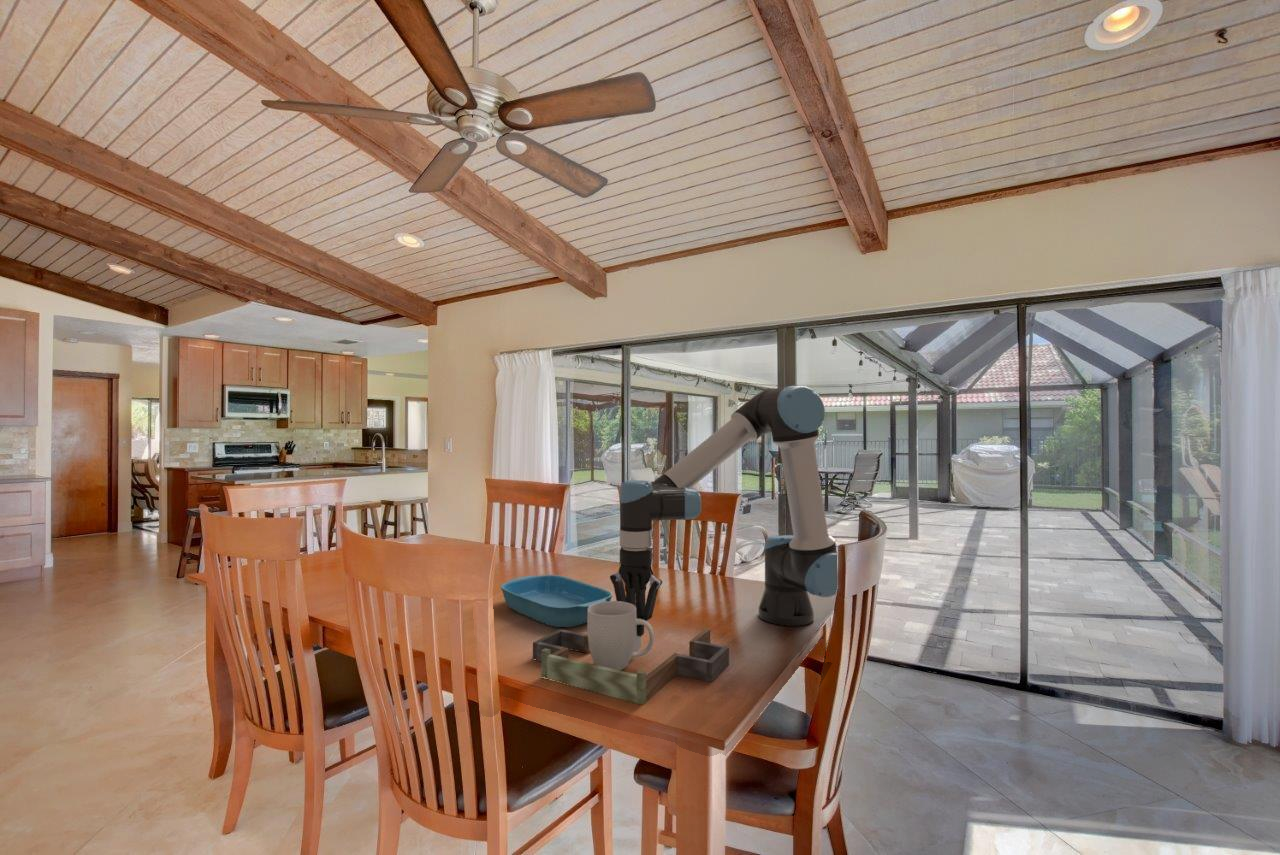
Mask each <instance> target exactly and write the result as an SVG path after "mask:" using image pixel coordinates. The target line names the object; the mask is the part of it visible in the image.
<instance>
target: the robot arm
mask: <svg viewBox="0 0 1280 855" xmlns="http://www.w3.org/2000/svg"><path fill="white" fill-rule="evenodd" d="M825 414H826V409H825V405H824V402H823V399H822V398H821V396H820V395H819V394H818V393H817V391H815V390H814V389H812V388H811V387H808V386H805V385H804V386H802V385H788V386H784V387H777V388H775V387H773V388H768V389H764V390H762V391H760V392H759V393H758V394H755V395H754V396H753V397H751V398H750V399H749V400H748V401H746V402H745V403H744V404H743V405H741V406H740V407H739V408H738V409H736V410H735V411H734V412H733V413H732V414H731V416H730V420H728V421H727V422H726V423H725V424H724V425H722V426H721V427H720V428H719V429H717V430H716V431H715V432H713V434H711V435H710V436H709V437H707V438H706V439H705V440H704V441H703V442H701V443H700V444H699V445H698V446H696V447H695V448H694V449H692V450H691V451H690V452H689V453H687V454H686V455H685V456H684V457H683V458H681V459H680V460H679V461H677V462H676V463H675V464H674V465H673V466H672V467H670V468H669V469H667V470H666V471H665V472H664V473H663V474H662V475H660V476H659V477H658V478H656V479H655V480H653V481H650V480H645V479H644V480H636V479H635V480H633V479H632V480H624V481H623V482H622V483H621V485H620V489H619V500H618V501H619V547H621V548H619V564H620V566H619V569H618V572H616V573H614V574H611V575H610V577H609V579H610V581H611V583H612V586H613V589H614V595H615V599H616V600H615V601H621V602H627V603H631V604H633V605H635V607H636V617H637V619H643V620H645V621H647V622H648V621H649V620H650V619H652V618H653V614H654V609H655V605H656V601H657V596H658V592H659V588H661V585H663V580H662V579H661V578H659V579H658V578H657V577H656V576H654V571H653V570H652V564H653V550H652V548H651V547H652V545H653V522H659V521H678V520H679V521H681V520H682V521H686V520H692V519H694V520H695V519H696V518H698V517H699V516H700V514H701V511H702V497H701V494H700V492H699V490H698V489H696V488H695V486H696V485H697V484H698V483H699V482H700V481H702V480H703V479H704V478H705V477H707V476H708V475H709V474H710V473H711V472H713V471H714V470H715V469H717V467H719V466H720V465H721V464H723V463H724V462H726V460H728V459H729V458H730V457H731V456H733V454H735V453H736V452H737V451H738V450H740V449H741V448H742V447H743V446H744V445H746V444H747V443H748V442H755V441H756V440H758V439H759V438H760V437H762V436H764V435H767V434H769V433H771V437H772V442H773V444H775V445H776V446H777V447H779V450H780V456H781V462H782V468H783V469H782V470H783V475H784V481H785V482H784V483H785V489H786V494H787V501H788V502H787V503H788V507H789V508H788V509H789V514H790V520H791V528H792V534H793V535H792V534H791V535H790V534H787V535H785V534H784V535H773V536H768V537H766V539H765V543H764V550H763V551H764V590H763V594H762V596H761V600H760V602H759V605H758V617H759V619H761V620H762V619H763V620H762V621H764V620H765V621H764V622H766V621H767V622H766V623H769V622H770V624H772V623H774V624H773V625H777V624H779V625H780V626H784V625H786V627H799V626H800V625H801V626H806V625H809V624H811V622H812V621H813V620H815V619H814V618H815V614H814V613H815V612H814V608H813V605H812V602H811V599H810V596H809V594H811V595H813V596H817V597H821V598H831V597H833V596H836V595H837V594H836V590H837V554H838V550H837V544H836V540H835V538H834V537H832V536H831V535H830V534H829V532H828V525H827V519H826V514H825V506H824V500H823V493H822V487H821V479H820V474H819V466H818V465H819V464H818V459H817V452H816V447H815V443H816V441H817V440H818V439H819V437H820V433H819V432H820V430H819V428H820V427H821V426H822V424H823V421H824V420H825V418H826V417H825ZM648 584H649V585H648ZM647 585H648V586H649V589H648V592H647V597H646V591H647ZM813 622H814V621H813ZM813 622H812V623H813ZM779 625H778V626H779ZM636 627H637V628H636V629H637V630H636V641H635V647H634V651H633V652H638V650H640V649H641V648H642V636H643V635H644V634H645V626H644V625H641V624H640V625H636Z"/></svg>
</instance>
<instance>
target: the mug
mask: <svg viewBox="0 0 1280 855" xmlns="http://www.w3.org/2000/svg"><path fill="white" fill-rule="evenodd" d="M640 624H641V625H644V627H646V629H647V631H648V634H649V640H648V641H649V642H648V645H647V646H646V647H645V648H644V649H643V650H641V651H634V647H635V641H636V630H637V629H636V628H637V627H636V625H640ZM586 625H587V626H586V627H587V628H586V629H587V630H586V631H587V634H588V642H589V648H590V652H591V653H590V655H591V658H592V659H593V662H594V665H599V666H603V667H607V668H611V669H616V670H620V671H623V670H625V669H626V668H627V667H628V665H629V663H630V661H631V659H635V658H639V657H642V656H645V655H647V654H648V653H649V651H651V649H652V648H653V645H654V639H655V638H654V631H653V630H654V629H653V628H652V626H651V624H650V623H649V622H648V620H647V621H645V620H643V619H637V617H636V607H635V605H633V604H631V603H627V602H621V601H617V600H610V601H604V602H598V603H594V604H592V605H590V606H589V607H588V618H587V623H586Z"/></svg>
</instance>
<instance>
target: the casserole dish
mask: <svg viewBox="0 0 1280 855" xmlns="http://www.w3.org/2000/svg"><path fill="white" fill-rule="evenodd" d="M500 589H501V591H502V594H503V598H504V601H505V603H506V605H507V606H508V607H509V608H510V609H512V610H514V611H515V612H517V613H519V614H520V615H523V614H524V615H523V616H525V615H526V616H525V617H527V618H530V617H531V619H532V618H533V620H534V619H535V620H534V621H537V620H538V621H537V622H539V621H540V623H542V624H544V623H545V625H547V624H548V625H547V626H549V625H551V626H550V627H552V626H554V627H553V628H556V627H570V628H572V627H571V626H574V627H577V626H576V625H578V626H581V625H584V624H587V623H586V622H587V618H588V607H589V606H590V605H592V604H594V603H598V602H604V601H612V597H613V593H612V592H611V591H609V590H607V589H604V588H601V587H598V586H596V585H592V584H590V583H586V582H583V581H580V580H577V579H573V578H570V577H566V576H562V575H556V574H541V575H526V576H520V577H516V578H513V579H511V580H509V581H507V582H506V581H505V582H504V583H502V584H501V585H500ZM583 623H584V624H583ZM580 624H581V625H580Z"/></svg>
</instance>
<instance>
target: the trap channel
mask: <svg viewBox="0 0 1280 855" xmlns="http://www.w3.org/2000/svg"><path fill="white" fill-rule="evenodd" d="M688 643H689V644H688V645H689V646H688V649H689V654H688V655H686V654H681V653H677V652H673V654H671V655H670V656H669V657H668V658H666V659H665V660H664V661H663V662H662V663H660V664H659V665H658V666H656V667H655V668H653V669H652V670H651V671H650V672H649V673H647V671H646V670H642V669H639V670H638V671H637V672H636V673H632V672H628V671H623V670H616V669H611V668H607V667H603V666H599V665H596V664H595V663H594V664H593V663H590V662H585V661H582V660H577V659H572V658H569V656H570V655H569V651H570V650H569V649H572V650H571V651H573V650H578V651H582V652H586V653H589V654H591V653H590V648H589V642H588V633H587V634H586V633H581V632H576V631H571V630H567V629H566V630H565V629H563V628H558V629H557V630H555V631H553V632H552V633H551V632H550V633H549V634H547V635H545V636H543V637H542V638H540V639H537V640H535V641H534V642H532V660H533V659H536V660H540V661H541V662H540V664H541V665H540V666H541V667H540V668H541V669H540V670H541V671H540V672H541V673H540V676H541V677H545V678H548V679H552V680H555V681H559V682H562V683H565V684H568V685H567V686H569V685H572V686H571V687H573V686H575V687H574V688H577V687H579V688H578V689H580V688H583V689H582V690H584V689H586V691H588V690H590V691H589V692H592V691H593V693H596V692H597V693H596V694H600V693H601V694H600V695H603V694H604V696H607V697H612V698H616V699H620V700H623V701H627V702H632V703H635V704H637V705H641V706H643V705H645V704H646V703H647V702H648V701H649V700H650V699H651V698H652V697H653V696H654V695H655V694H657V693H658V692H659V691H660V690H661V689H663V687H664V686H666V685H667V684H668V683H669V682H670V681H672V679H674V678H675V677H676V676H677V675H679V676H683V677H688V678H692V679H696V680H702V681H705V682H708V683H709V682H710V683H712V682H714V681H715V680H716V678H718V677H719V675H720V674H722V672H724V671H725V669H726V668H727V667H728V666H729V665H730V647H729V646H727V645H721V644H716V643H711V629H710V628H704V629H702V630H701V631H700V632H699V633H698V634H697V635H695V636H694V637H693V638H692V639H691V640H689V642H688ZM582 652H581V653H582ZM586 653H585V654H586ZM565 684H564V685H565Z"/></svg>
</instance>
